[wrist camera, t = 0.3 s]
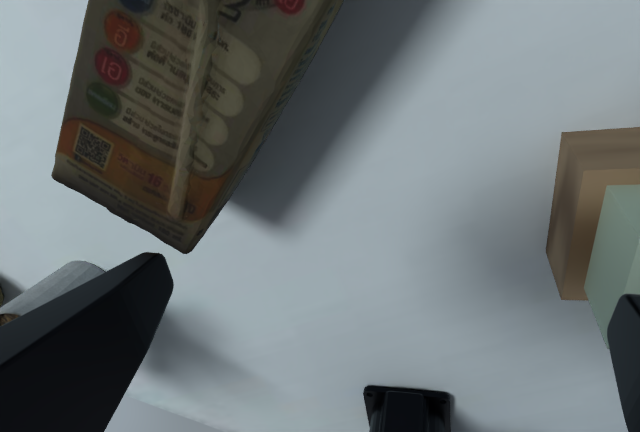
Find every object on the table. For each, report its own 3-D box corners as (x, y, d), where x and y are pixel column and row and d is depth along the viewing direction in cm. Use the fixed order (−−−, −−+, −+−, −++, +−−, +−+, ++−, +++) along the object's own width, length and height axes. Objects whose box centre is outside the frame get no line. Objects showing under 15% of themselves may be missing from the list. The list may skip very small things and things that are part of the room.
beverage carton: (438, -142, 16) (438, -171, 10) (233, 201, 27) (183, 271, 22) (251, -297, 15) (145, -418, 9) (118, 129, 26) (36, 184, 20)
